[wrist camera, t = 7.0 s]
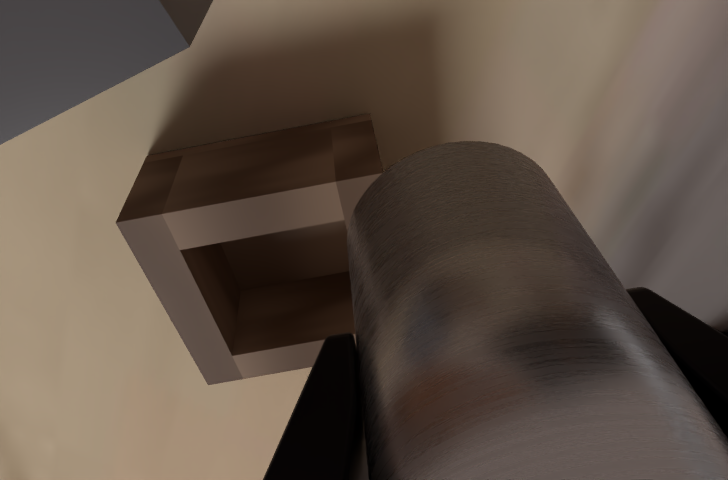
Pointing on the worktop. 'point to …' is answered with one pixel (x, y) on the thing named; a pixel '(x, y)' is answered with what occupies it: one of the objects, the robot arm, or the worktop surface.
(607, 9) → the worktop surface
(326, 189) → the socket block
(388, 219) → the grey cylinder
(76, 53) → the grey cube
